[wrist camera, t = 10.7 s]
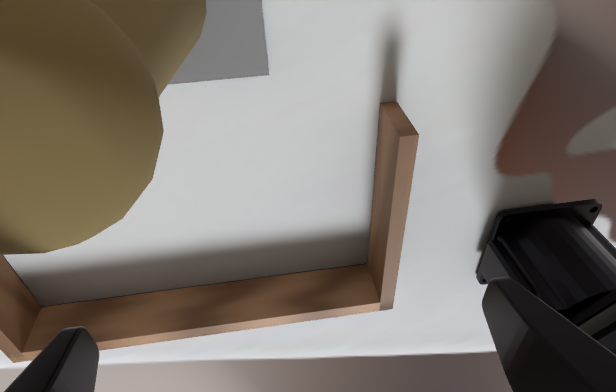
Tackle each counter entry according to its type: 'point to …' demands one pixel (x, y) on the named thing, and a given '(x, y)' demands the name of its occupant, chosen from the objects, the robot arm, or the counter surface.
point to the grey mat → (227, 44)
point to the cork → (82, 111)
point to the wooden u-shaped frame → (239, 294)
